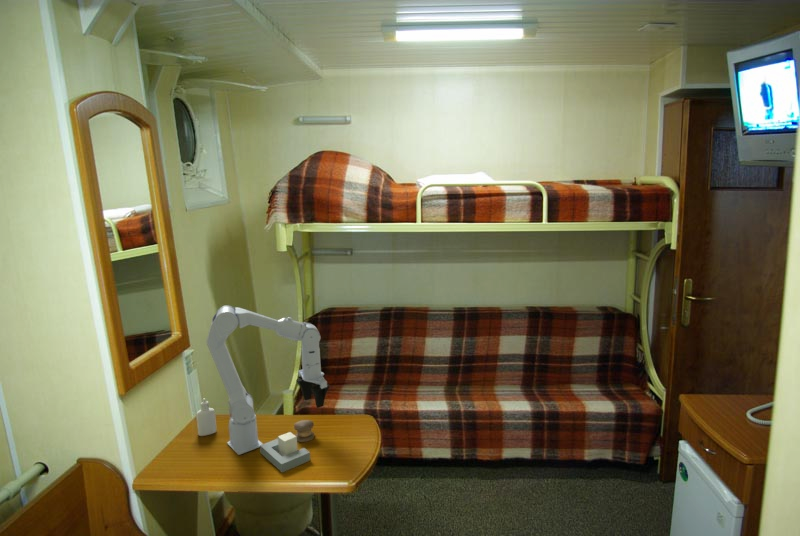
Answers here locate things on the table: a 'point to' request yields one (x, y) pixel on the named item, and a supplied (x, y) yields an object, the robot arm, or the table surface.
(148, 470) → the table surface
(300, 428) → the brown knob
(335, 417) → the table surface
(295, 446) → the block
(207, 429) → the eye dropper bottle
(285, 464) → the notched board
